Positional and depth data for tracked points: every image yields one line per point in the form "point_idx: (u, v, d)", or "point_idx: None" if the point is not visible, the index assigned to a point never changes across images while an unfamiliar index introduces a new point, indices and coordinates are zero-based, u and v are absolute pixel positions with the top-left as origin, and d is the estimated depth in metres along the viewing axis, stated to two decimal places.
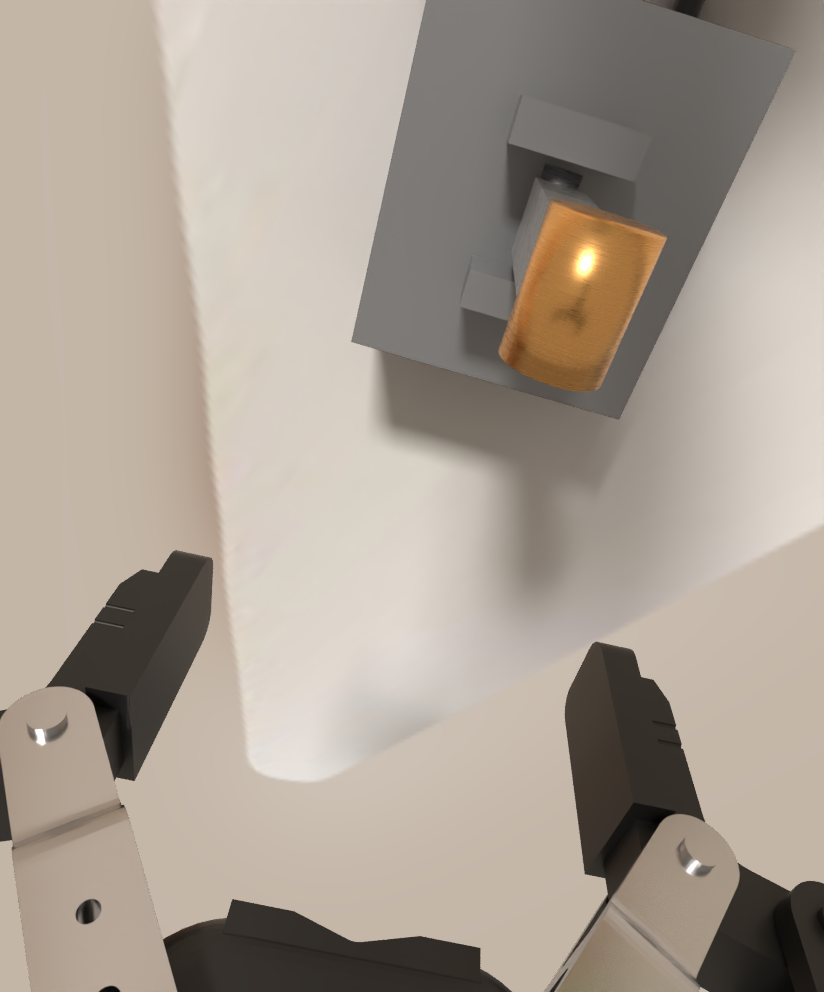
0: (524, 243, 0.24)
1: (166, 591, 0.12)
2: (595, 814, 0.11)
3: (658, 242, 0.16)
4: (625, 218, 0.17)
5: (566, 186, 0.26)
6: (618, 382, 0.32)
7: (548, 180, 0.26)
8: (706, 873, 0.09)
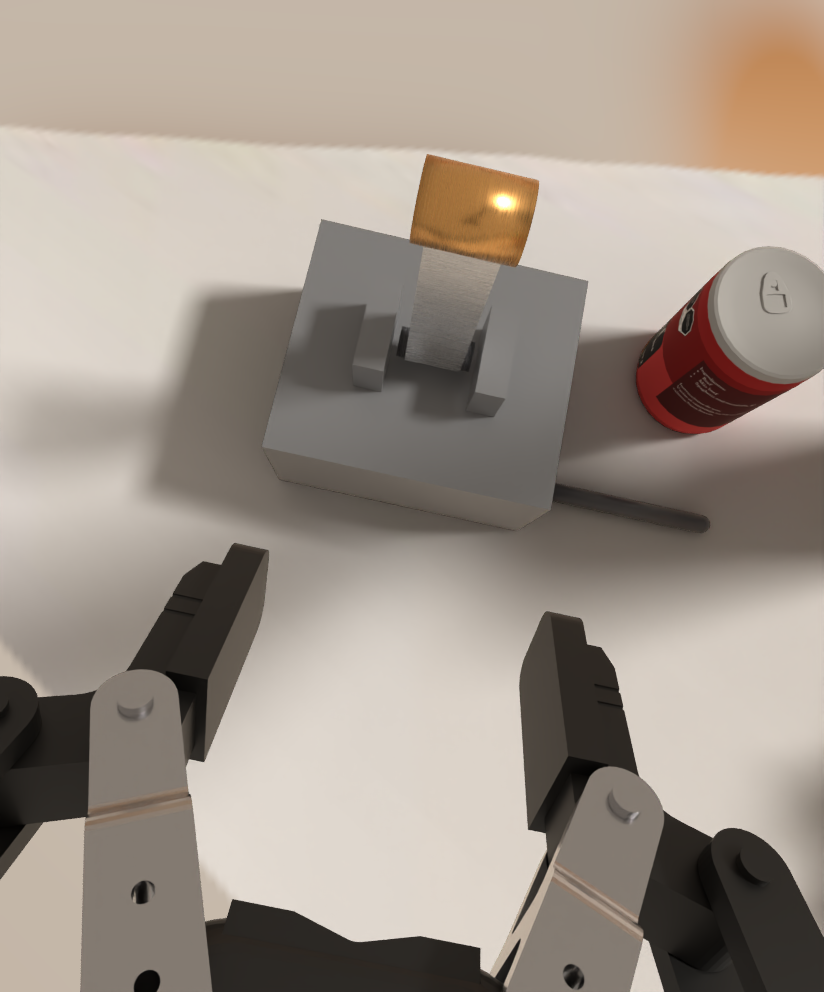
0: None
1: (230, 581, 0.12)
2: (538, 772, 0.12)
3: (525, 235, 0.23)
4: None
5: None
6: (299, 439, 0.36)
7: None
8: (631, 819, 0.10)
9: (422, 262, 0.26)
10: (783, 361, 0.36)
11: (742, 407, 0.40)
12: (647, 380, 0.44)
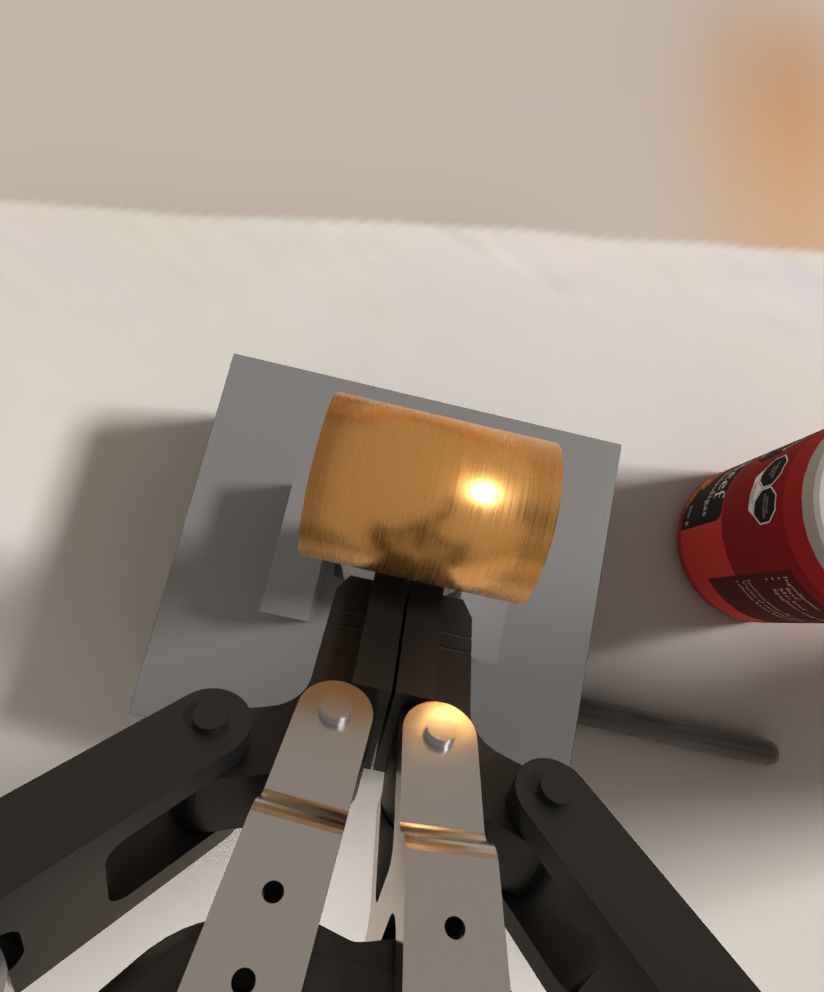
0: None
1: (386, 596, 0.13)
2: (385, 714, 0.12)
3: (533, 577, 0.11)
4: None
5: None
6: None
7: None
8: (442, 747, 0.10)
9: None
10: None
11: None
12: (695, 554, 0.32)
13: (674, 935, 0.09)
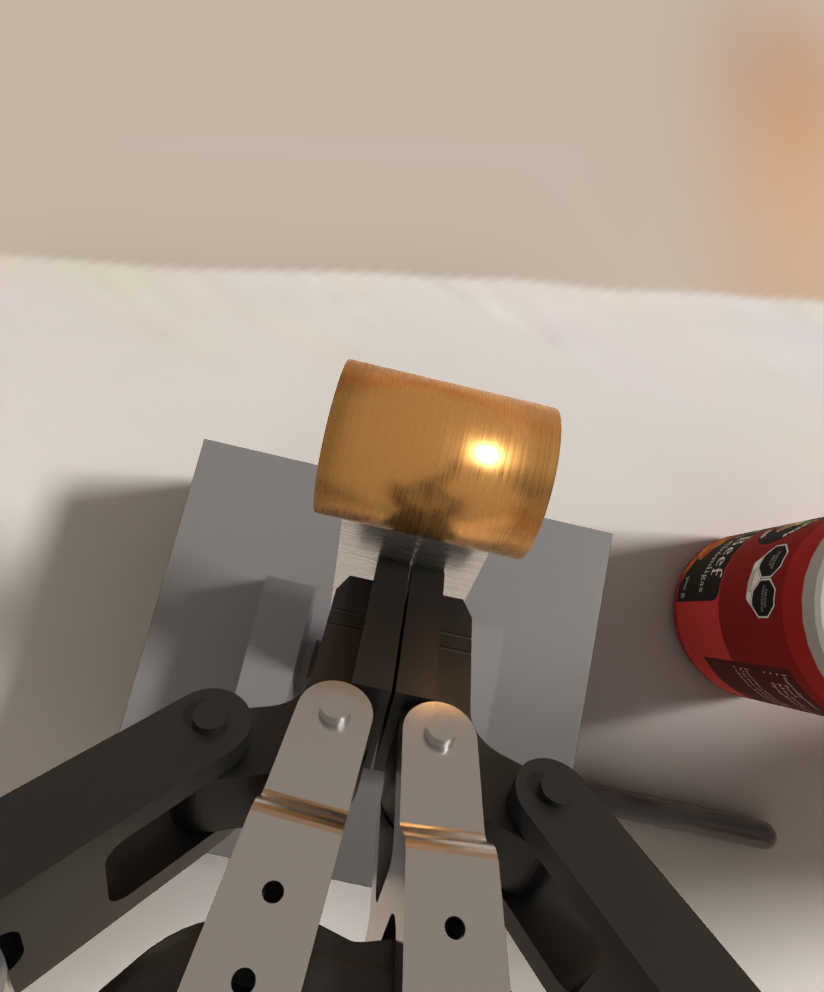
0: None
1: (386, 596, 0.13)
2: (385, 715, 0.12)
3: (544, 500, 0.11)
4: None
5: None
6: None
7: None
8: (442, 747, 0.10)
9: (341, 547, 0.14)
10: None
11: None
12: (691, 630, 0.31)
13: (675, 936, 0.09)
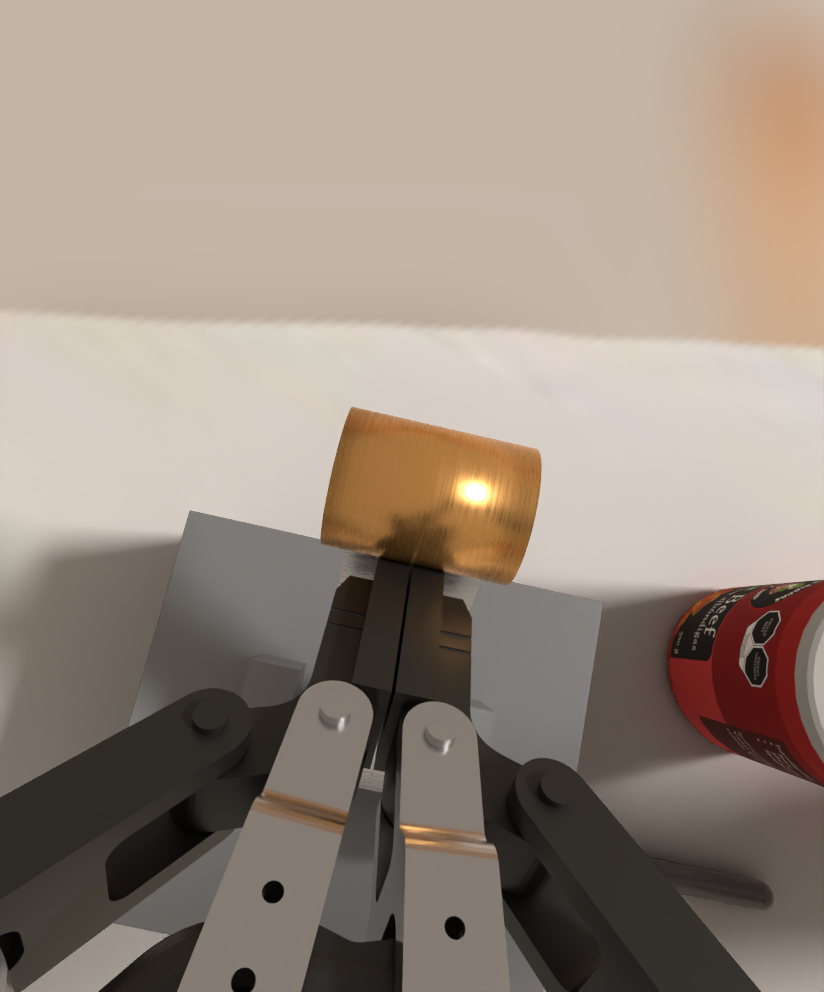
0: None
1: (386, 596, 0.13)
2: (385, 714, 0.12)
3: (530, 519, 0.13)
4: None
5: None
6: None
7: None
8: (441, 747, 0.10)
9: None
10: None
11: None
12: (685, 687, 0.31)
13: (675, 935, 0.09)
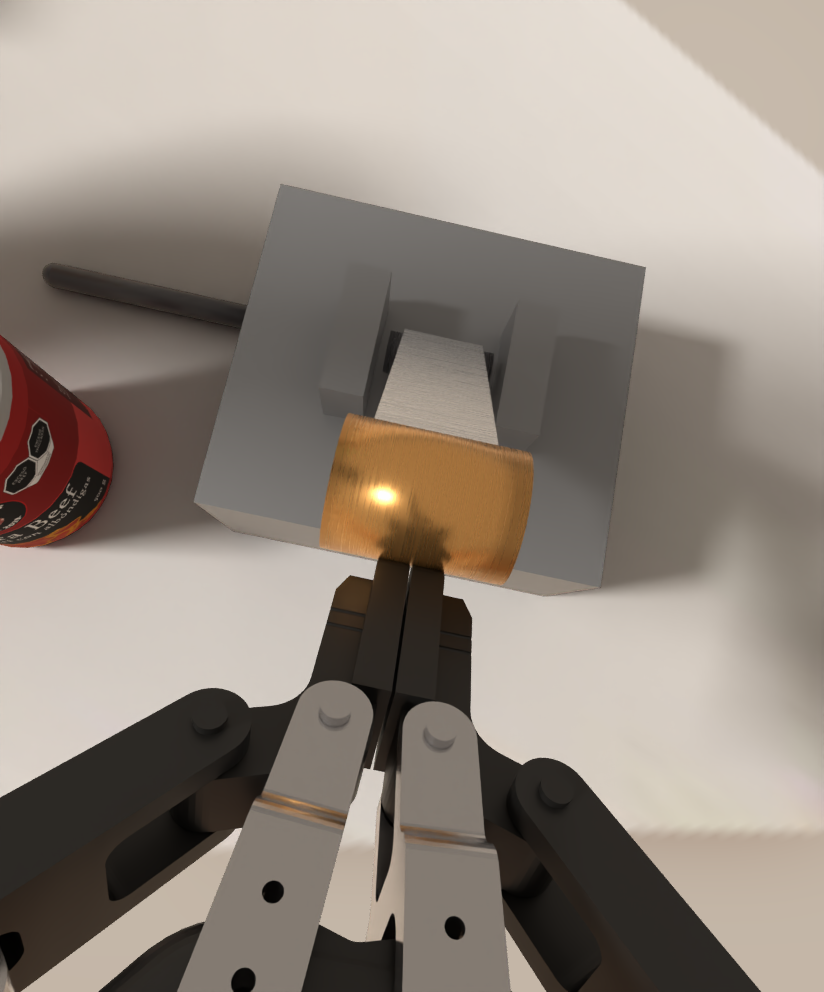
0: None
1: (386, 596, 0.13)
2: (385, 715, 0.12)
3: (340, 450, 0.13)
4: None
5: None
6: (601, 275, 0.28)
7: None
8: (442, 747, 0.10)
9: (494, 434, 0.16)
10: None
11: None
12: (101, 445, 0.31)
13: (674, 936, 0.09)
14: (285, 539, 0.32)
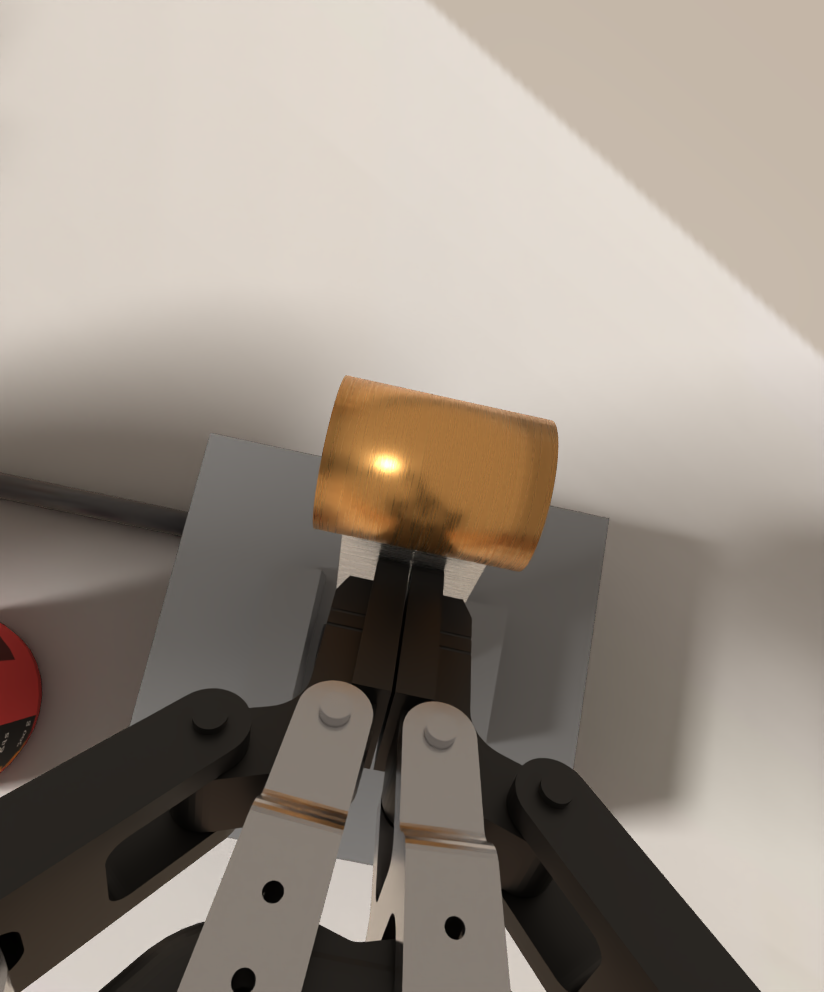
0: None
1: (386, 596, 0.13)
2: (385, 714, 0.12)
3: (350, 376, 0.12)
4: None
5: None
6: (560, 529, 0.26)
7: None
8: (442, 747, 0.10)
9: None
10: None
11: None
12: (24, 687, 0.29)
13: (674, 936, 0.09)
14: None
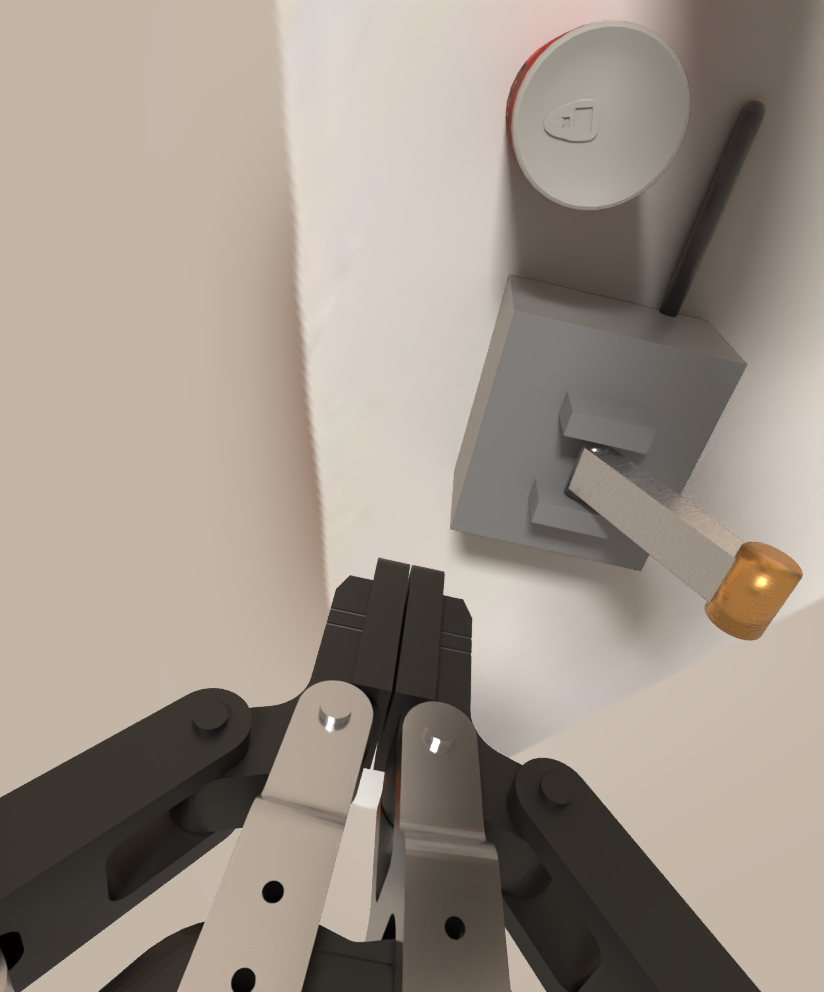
0: (625, 513, 0.38)
1: (386, 595, 0.13)
2: (385, 714, 0.12)
3: (799, 569, 0.33)
4: (758, 544, 0.34)
5: (607, 451, 0.40)
6: (639, 548, 0.46)
7: (597, 451, 0.40)
8: (442, 747, 0.10)
9: None
10: (662, 121, 0.30)
11: None
12: None
13: (674, 936, 0.09)
14: (498, 320, 0.45)
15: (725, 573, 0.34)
